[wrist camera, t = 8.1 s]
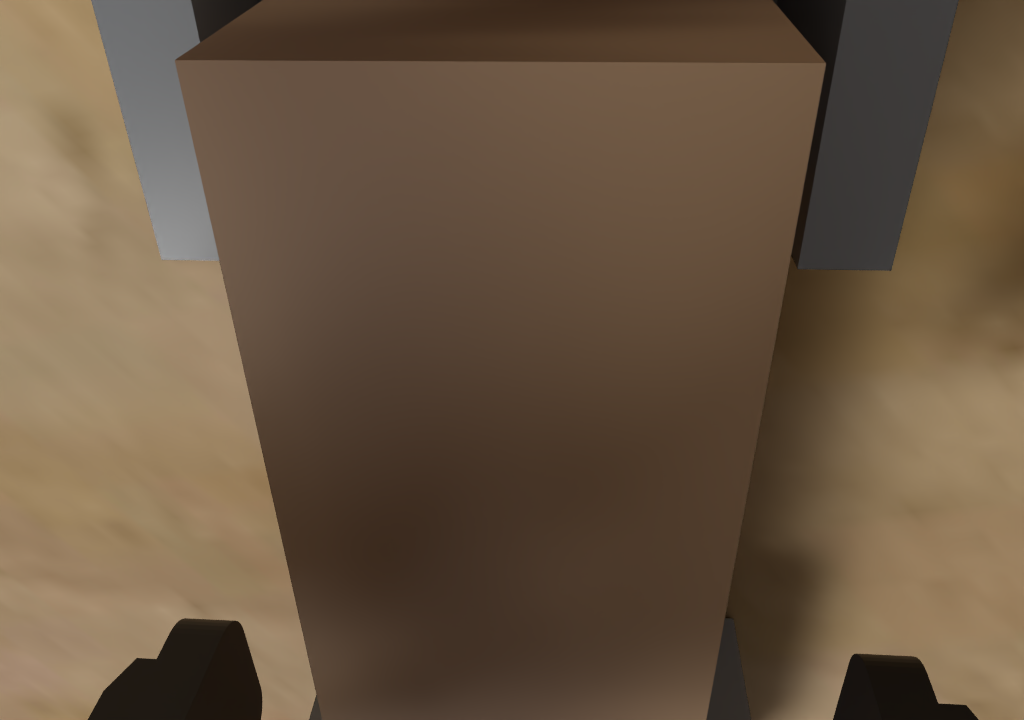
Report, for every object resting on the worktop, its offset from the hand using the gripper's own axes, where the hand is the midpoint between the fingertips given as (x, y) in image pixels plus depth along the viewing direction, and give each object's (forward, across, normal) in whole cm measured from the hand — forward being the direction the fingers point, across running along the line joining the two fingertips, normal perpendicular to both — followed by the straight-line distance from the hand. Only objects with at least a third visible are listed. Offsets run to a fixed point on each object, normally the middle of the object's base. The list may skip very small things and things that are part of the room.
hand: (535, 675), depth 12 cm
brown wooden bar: (+4, 0, 0) cm, 4 cm away
